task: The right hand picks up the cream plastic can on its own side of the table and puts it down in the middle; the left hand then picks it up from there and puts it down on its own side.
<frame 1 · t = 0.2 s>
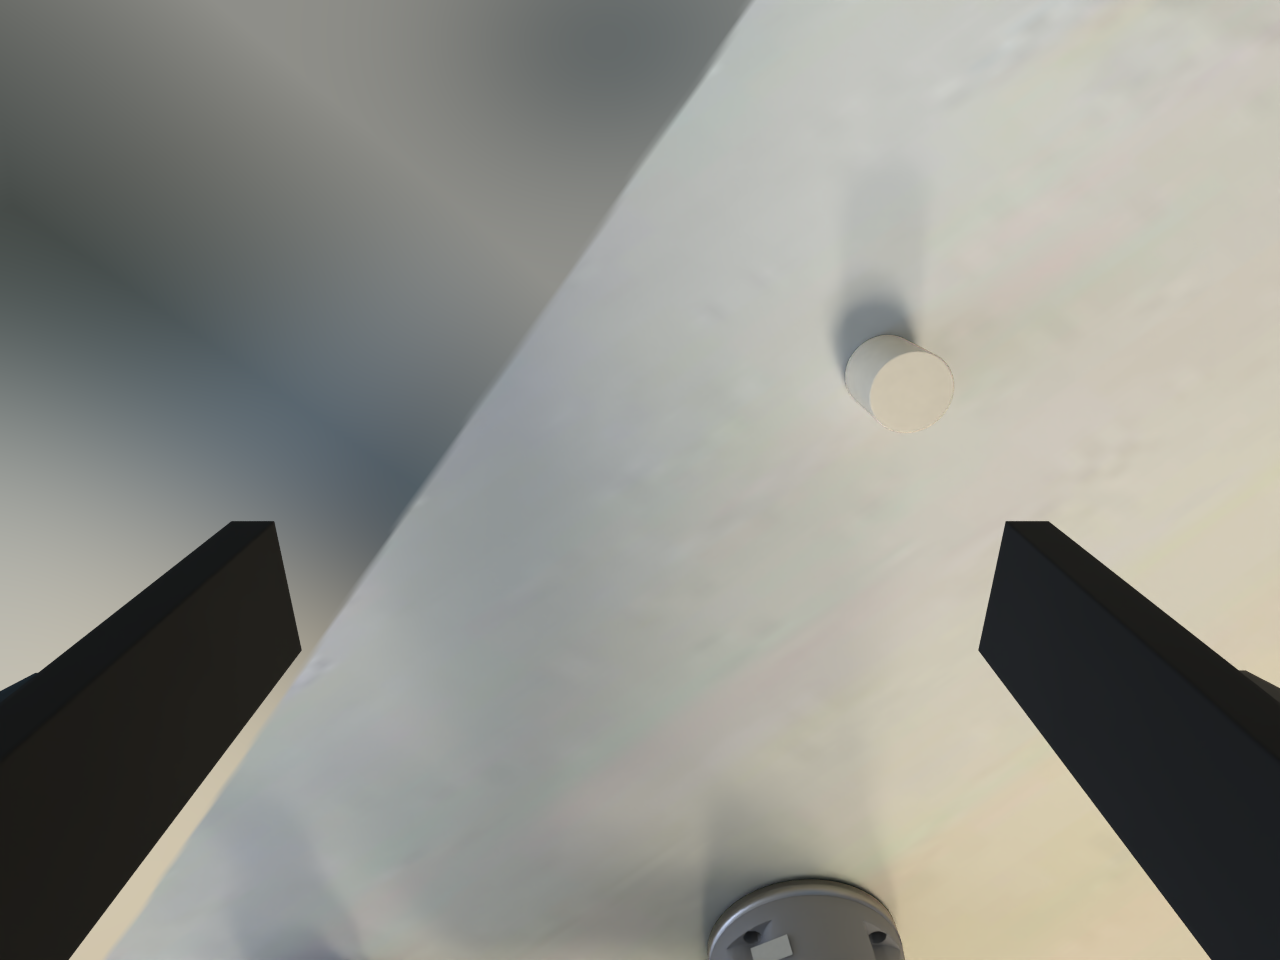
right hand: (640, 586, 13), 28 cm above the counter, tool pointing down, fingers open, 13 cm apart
can: (882, 372, 39), on the counter
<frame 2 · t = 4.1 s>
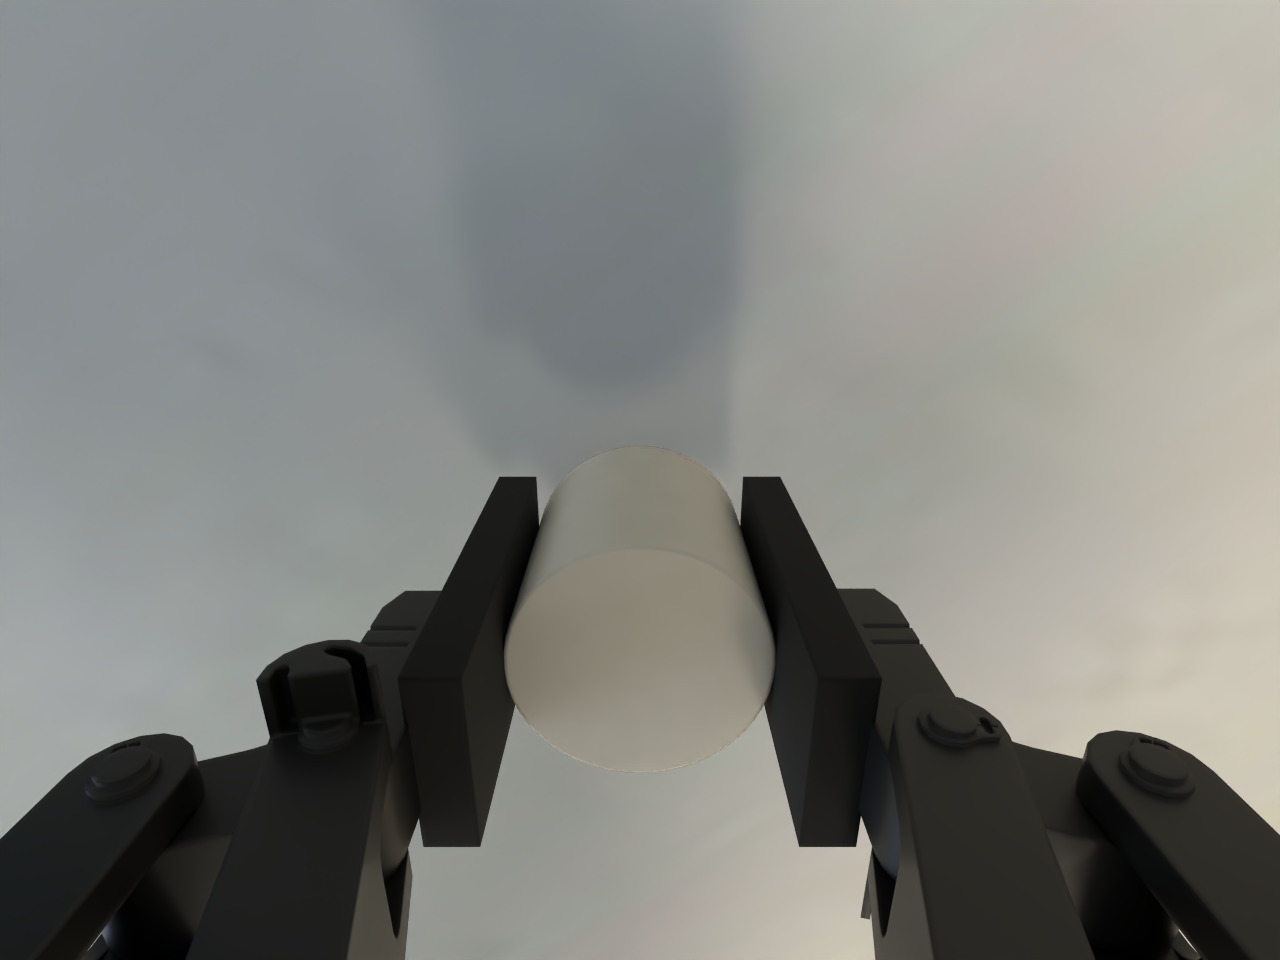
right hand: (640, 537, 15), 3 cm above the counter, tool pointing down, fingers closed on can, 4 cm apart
can: (639, 538, 15), point 2 cm above the counter, touching right hand
when the right hand's fingers open (1 cm above the counter, at t = 11.3 s): can stays where it is, on the counter.
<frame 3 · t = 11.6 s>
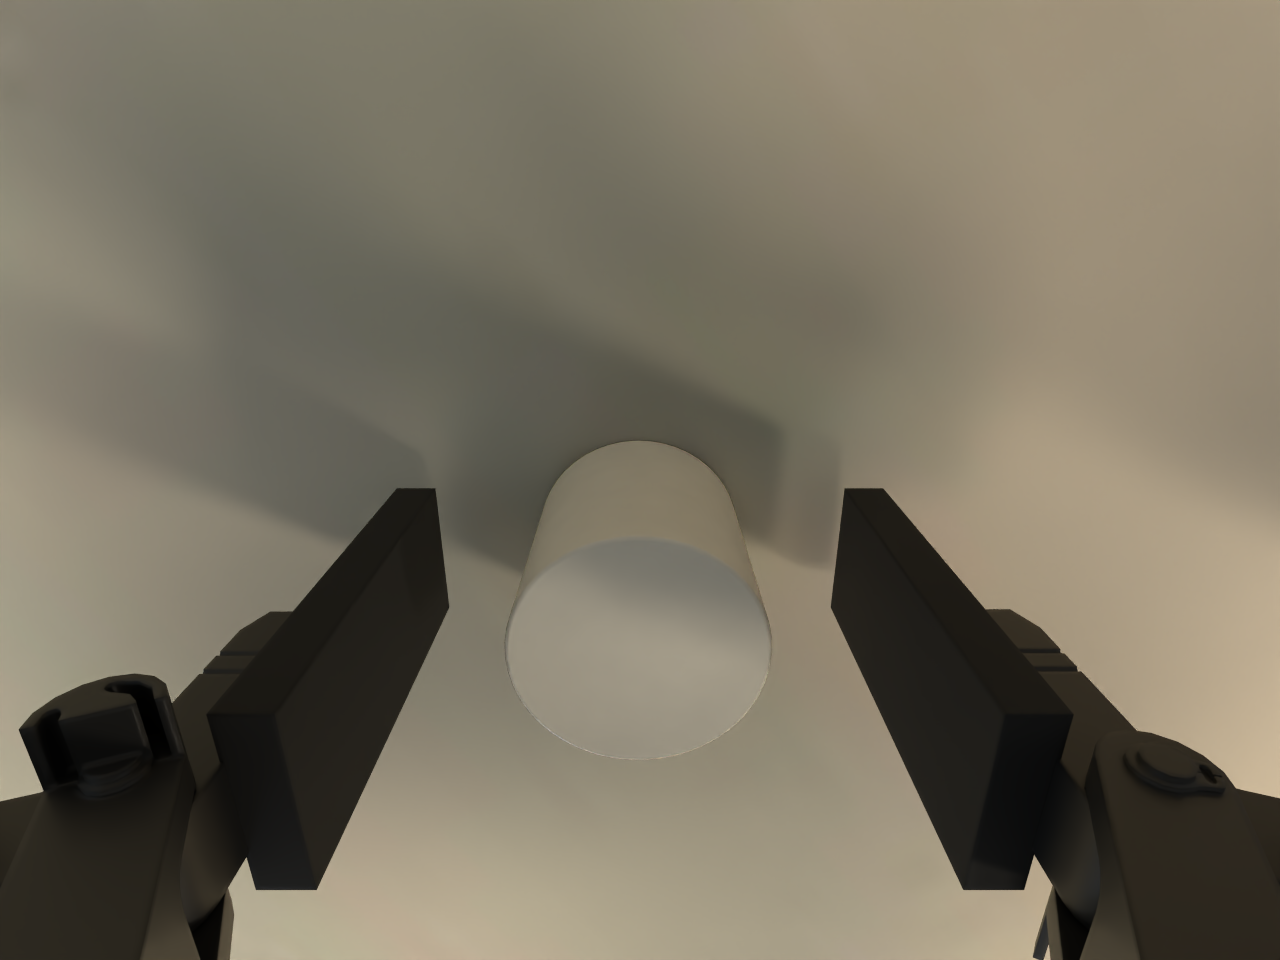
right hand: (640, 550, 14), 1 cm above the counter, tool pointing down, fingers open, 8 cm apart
can: (638, 531, 15), on the counter
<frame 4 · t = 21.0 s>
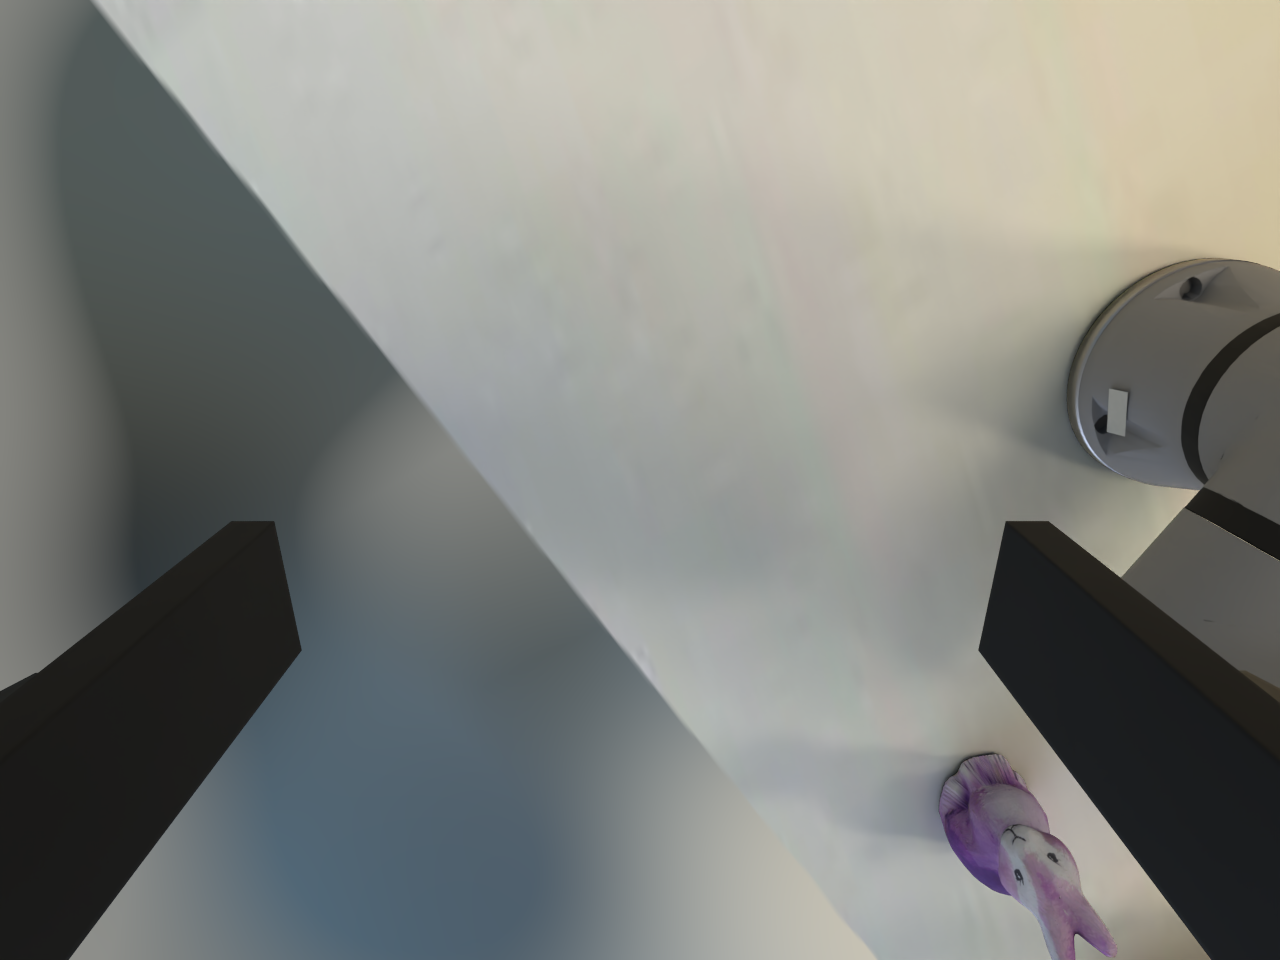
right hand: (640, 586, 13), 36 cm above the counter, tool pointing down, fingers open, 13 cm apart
figurine: (976, 791, 62), on the counter
when the left hand's fingers open (2 cm above the counter, at t = 25.6 s): can stays where it is, on the counter.
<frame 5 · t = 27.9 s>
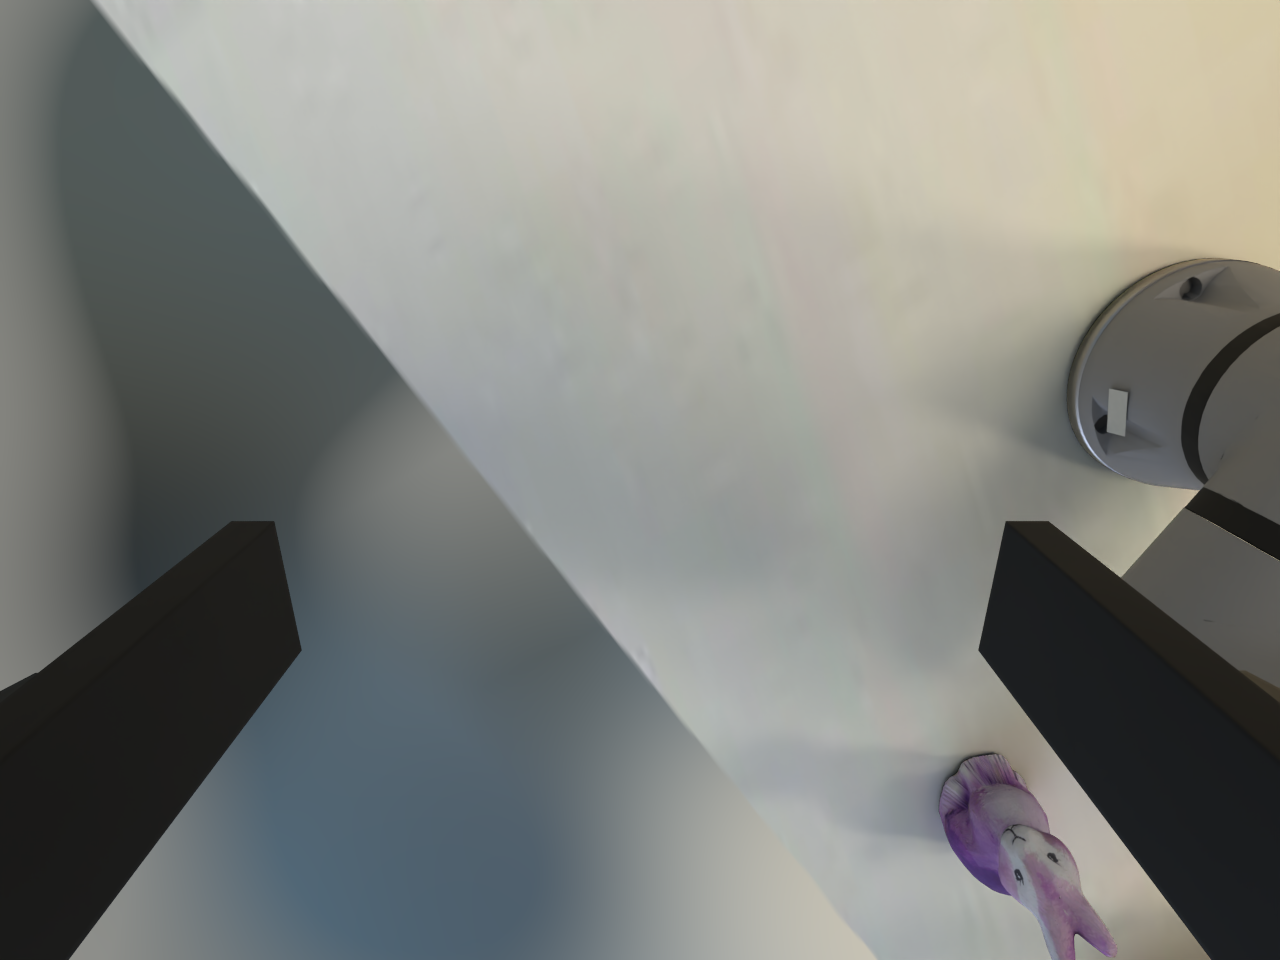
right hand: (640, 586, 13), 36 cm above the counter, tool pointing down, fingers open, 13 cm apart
figurine: (976, 791, 62), on the counter
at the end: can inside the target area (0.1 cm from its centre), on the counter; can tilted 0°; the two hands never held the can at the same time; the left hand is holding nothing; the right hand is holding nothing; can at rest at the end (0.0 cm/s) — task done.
